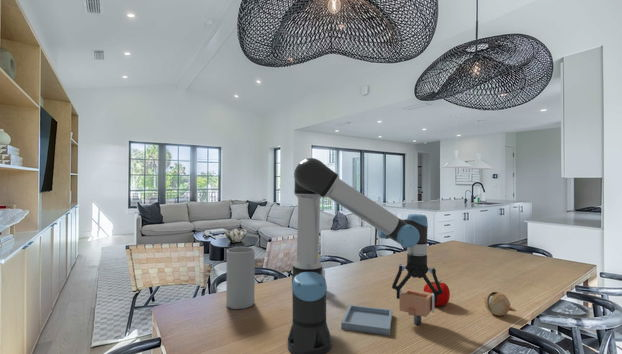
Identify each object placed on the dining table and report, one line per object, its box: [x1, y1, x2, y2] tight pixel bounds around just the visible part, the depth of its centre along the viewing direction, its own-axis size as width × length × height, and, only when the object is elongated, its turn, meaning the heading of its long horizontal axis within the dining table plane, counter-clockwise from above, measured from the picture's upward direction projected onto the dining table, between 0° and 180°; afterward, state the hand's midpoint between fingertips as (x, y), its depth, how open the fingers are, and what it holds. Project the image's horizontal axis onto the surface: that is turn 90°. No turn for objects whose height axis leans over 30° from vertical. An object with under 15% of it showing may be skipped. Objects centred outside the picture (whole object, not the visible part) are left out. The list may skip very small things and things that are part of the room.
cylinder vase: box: [225, 246, 255, 310], centre depth 143 cm, size 12×12×25 cm
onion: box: [483, 291, 517, 317], centre depth 131 cm, size 9×9×15 cm
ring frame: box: [399, 287, 432, 318], centre depth 122 cm, size 10×12×6 cm
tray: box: [340, 304, 393, 336], centre depth 125 cm, size 18×18×2 cm
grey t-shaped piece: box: [413, 315, 422, 326], centre depth 123 cm, size 3×6×8 cm, turn 73°
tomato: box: [423, 279, 451, 307], centre depth 143 cm, size 11×13×10 cm
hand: (416, 309), depth 123 cm, fingers closed on ring frame, 11 cm apart
